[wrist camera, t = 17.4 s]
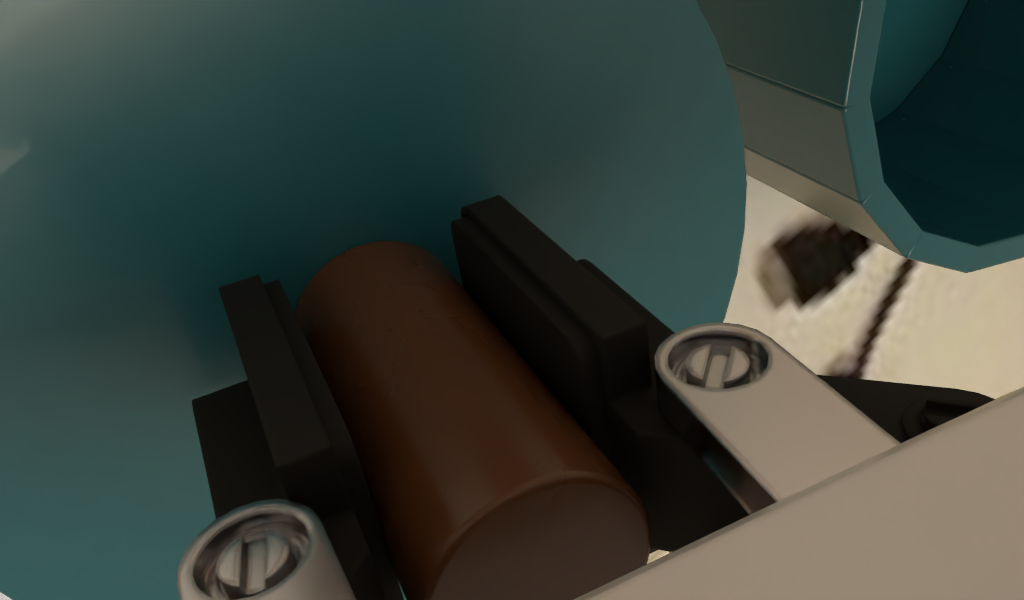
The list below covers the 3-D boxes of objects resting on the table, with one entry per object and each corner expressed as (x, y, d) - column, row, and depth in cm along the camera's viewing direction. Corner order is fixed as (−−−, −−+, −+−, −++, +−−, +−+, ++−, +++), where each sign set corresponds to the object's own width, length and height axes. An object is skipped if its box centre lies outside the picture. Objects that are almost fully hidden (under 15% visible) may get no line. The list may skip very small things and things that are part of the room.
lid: (-105, -424, 8) (-419, -871, 3) (819, -9, 15) (1252, 89, 9) (-195, 624, 12) (-396, 1239, 7) (558, 592, 19) (754, 901, 13)
